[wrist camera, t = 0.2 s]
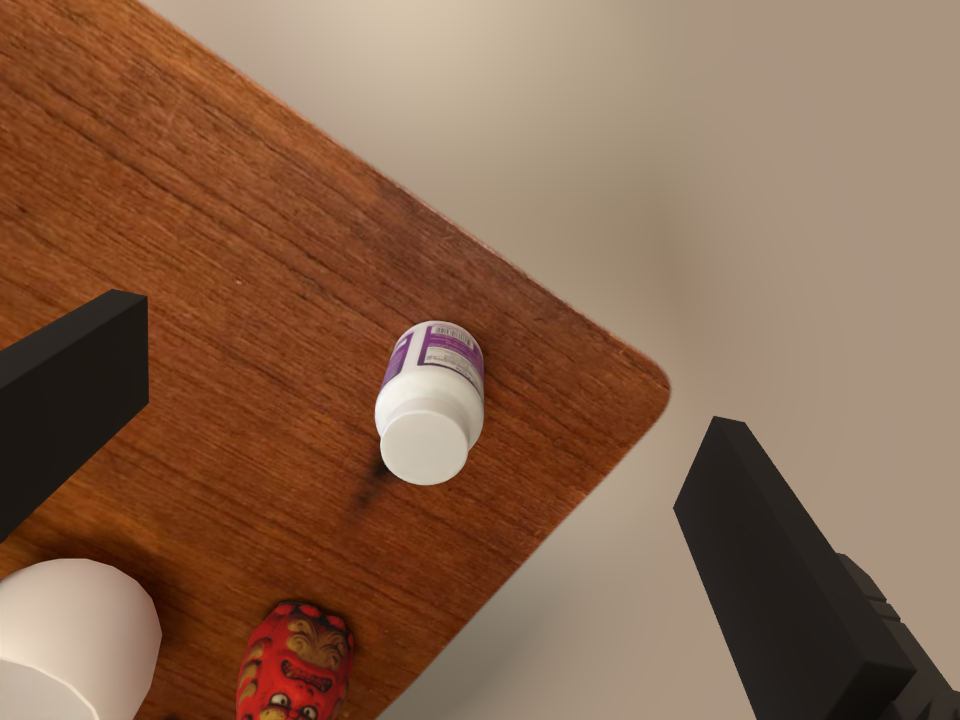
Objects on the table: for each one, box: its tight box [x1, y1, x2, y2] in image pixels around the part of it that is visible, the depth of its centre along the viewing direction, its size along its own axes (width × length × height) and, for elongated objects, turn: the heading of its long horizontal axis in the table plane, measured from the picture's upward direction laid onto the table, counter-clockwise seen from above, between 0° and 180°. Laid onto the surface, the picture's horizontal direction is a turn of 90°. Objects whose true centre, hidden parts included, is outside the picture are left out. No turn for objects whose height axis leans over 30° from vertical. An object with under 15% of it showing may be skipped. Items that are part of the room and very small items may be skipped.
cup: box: [0, 559, 162, 720], centre depth 40 cm, size 12×12×10 cm
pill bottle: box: [375, 321, 484, 485], centre depth 32 cm, size 5×5×10 cm
